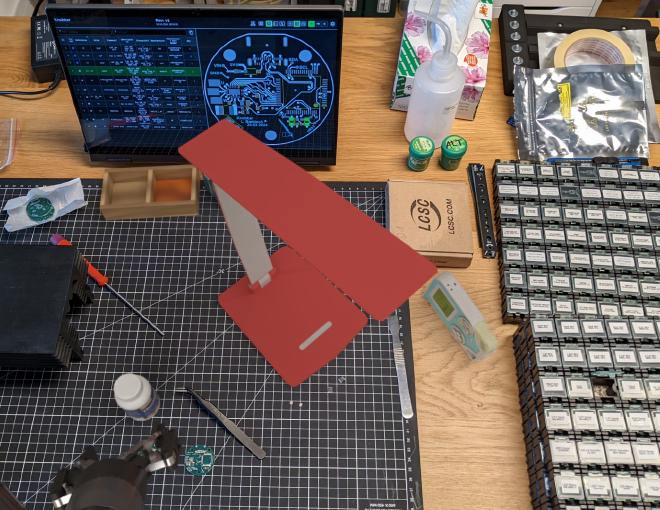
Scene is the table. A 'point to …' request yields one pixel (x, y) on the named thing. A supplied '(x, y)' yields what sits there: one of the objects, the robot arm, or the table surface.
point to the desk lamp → (300, 254)
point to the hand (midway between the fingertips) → (126, 440)
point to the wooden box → (150, 192)
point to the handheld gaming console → (461, 316)
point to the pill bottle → (136, 396)
